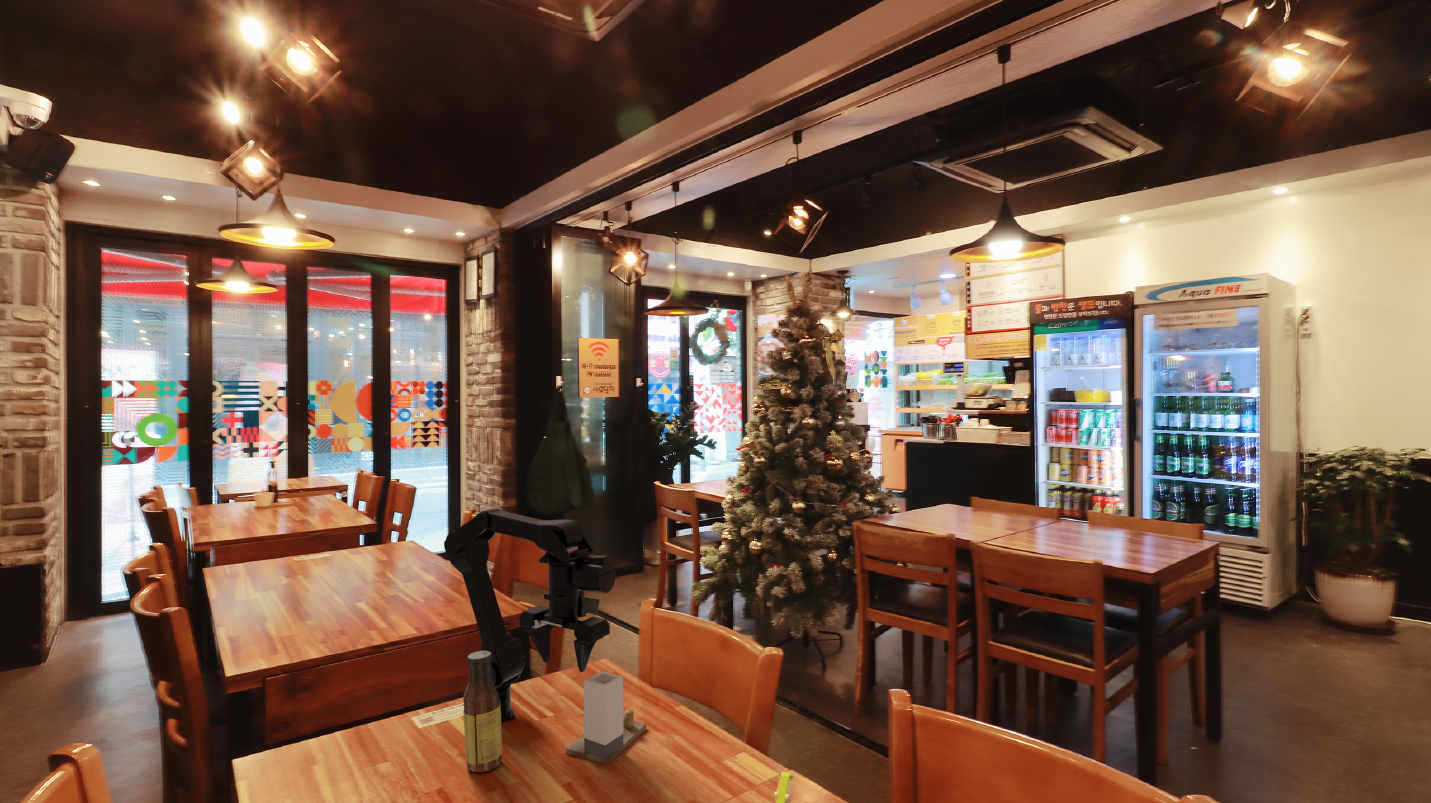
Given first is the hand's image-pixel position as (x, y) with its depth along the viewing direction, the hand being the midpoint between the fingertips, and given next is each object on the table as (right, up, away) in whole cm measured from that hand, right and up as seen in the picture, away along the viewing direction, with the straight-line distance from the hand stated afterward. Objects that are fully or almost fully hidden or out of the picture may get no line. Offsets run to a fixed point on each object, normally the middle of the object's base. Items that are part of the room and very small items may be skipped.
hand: (564, 666), depth 134 cm
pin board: (+9, -13, -3) cm, 16 cm away
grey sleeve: (+9, -12, -8) cm, 17 cm away
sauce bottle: (-12, -13, -11) cm, 21 cm away
